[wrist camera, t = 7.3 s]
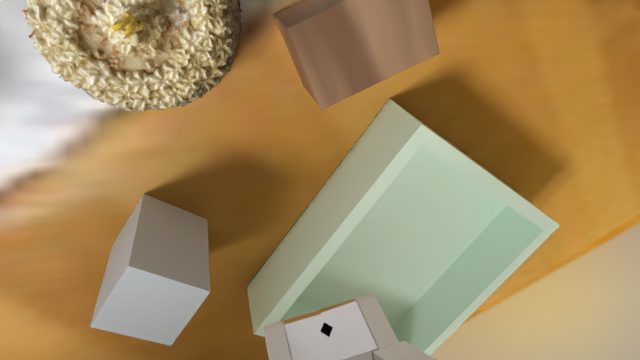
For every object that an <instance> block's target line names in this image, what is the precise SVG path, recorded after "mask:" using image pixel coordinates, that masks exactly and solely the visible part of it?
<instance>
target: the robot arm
mask: <svg viewBox="0 0 640 360" xmlns="http://www.w3.org/2000/svg"><path fill="white" fill-rule="evenodd" d="M283 321H284V323H283ZM283 321H279V322H276V323H272V324H269V325H265V326H264V335H265V340H266V346H267V352H268V357H269V360H435V359H434V358H432V357H430V356H429V355H427V354H426V353H424V352H422V351H421V350H419V349H417V348H416V347H414V346H412V345H411V344H409V343H408V342H406V341H402V342H399V341H398V339H397V337H396V335H395V333H394V331H393V329H392V327H391V325H390V323H389V321H388V319H387V318H386V316H385V314H384V312H383V310H382V308H381V306H380V304H379V302H378V300H377V298H376V296H375V295H374V294H369V295H365V296H362V297H359V298H356V299H351V300H348V301H345V302H342V303H339V304H335V305H332V306H329V307H326V308H323V309H320V310H319V311H315V312H311V313H308V314H304V315H300V316H297V317H293V318H290V319H286V320H283Z"/></svg>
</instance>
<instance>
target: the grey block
mask: <svg viewBox="0 0 640 360" xmlns="http://www.w3.org/2000/svg"><path fill="white" fill-rule="evenodd" d="M209 293H210V269H209V243H208V220H207V219H205V218H203V217H200V216H198V215H195V214H193V213H190V212H188V211H185V210H183V209H180V208H178V207H176V206H173V205H171V204H168V203H166V202H163V201H161V200H158V199H156V198H153V197H151V196H149V195H146V194H143V196H142V197H141V199H140V201H139V202H138V204H137V206H136V207H135V209H134V210H133V212H132V214H131V215H130V217H129V219H128V220H127V222H126V224H125V225H124V227H123V229H122V230H121V232H120V234H119V235H118V237H117V239H116V240H115V242H114V243H113V246H112V249H111V253H110V256H109V260H108V263H107V267H106V271H105V274H104V278H103V281H102V285H101V288H100V292H99V296H98V299H97V303H96V306H95V310H94V313H93V317H92V321H91V324H90V327H92V328H97V329H101V330H105V331H109V332H114V333H118V334H122V335H127V336H131V337H135V338H139V339H144V340H148V341H152V342H156V343H161V344H165V345H169V346H171V345H172V344H173V342H174V341H175V340H176V338H177V337H178V336H179V334H180V333H181V331H182V330H183V329H184V327H185V326H186V325H187V323H188V322H189V320H190V319H191V318H192V316H193V315H194V314H195V312H196V311H197V310H198V308H199V307H200V305H201V304H202V303H203V301H204V300H205V299H206V297H207V296H208V294H209Z"/></svg>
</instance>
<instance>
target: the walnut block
mask: <svg viewBox="0 0 640 360" xmlns="http://www.w3.org/2000/svg"><path fill="white" fill-rule="evenodd" d="M273 16H274V18H275V20H276V23H277V25H278V27H279V30H280V32H281V34H282V37H283V39H284V41H285V44H286V46H287V48H288V50H289V53H290V55H291V57H292V60H293V62H294V64H295V67H296V69H297V71H298V74H299V76H300V78H301V81H302V83H303V85H304V87H305V88H306V90H307V91H308V92H309V94H310V95H311V96H312V98H313V99H314V100H315V102H316V103H317V104H318V106H319V107H320V108H321V110H322V109H325V108H327V107H329V106H331V105H333V104H335V103H337V102H339V101H341V100H343V99H345V98H347V97H349V96H351V95H354V94H356V93H358V92H360V91H362V90H364V89H366V88H368V87H370V86H372V85H374V84H376V83H378V82H380V81H382V80H385V79H387V78H389V77H391V76H393V75H395V74H397V73H399V72H401V71H403V70H405V69H407V68H409V67H411V66H413V65H416V64H418V63H420V62H422V61H424V60H426V59H428V58H430V57H432V56H434V55H436V54H438V53H440V52H439V47H438V43H437V38H436V33H435V29H434V24H433V19H432V15H431V10H430V5H429V0H303V1H301V2H299V3H297V4H295V5H293V6H290V7H288V8H286V9H284V10H282V11H280V12H278V13H276V14H274V15H273Z"/></svg>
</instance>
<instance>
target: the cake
mask: <svg viewBox="0 0 640 360" xmlns="http://www.w3.org/2000/svg"><path fill="white" fill-rule="evenodd" d="M26 1H27V4H28V5H27V6H26V10H23V12H24V13H25V14H26V15H27V17H26V21H27V24H28V25H29V26H30V27H32V29H33V31H32V34H31V35H30V36H29V38H32V39H34V40H35V42H34V43H33V45H34V46H35V48H36V49H37V51H38V52H39V53H40V55H42V56H43V57H44V59H46V61H47V62H48V63H49V64H50V65H51V67H52V70H51V71H52V72H53V73H55V74H59V73H60V74H61V76H60V77H61V78H62V79H63V80H64V81H65V82H66V81H70V82H71V83H72V84H73V85H74V86H76V87H77V88H82V89H83V90H84V91H85V92H86V93H87V94H89V96H91V97H93V99H97V100H99V101H101V102H106V103H108V104H110V105H112V106H113V105H115V106H116V107H117V108H122V109H124V110H126V111H131V109H132V108H135V110H136V111H137V112H140V111H141V110H142V111H146V110H147V109H151V108H152V109H159V110H163V109H165V108H170V107H178V106H180V105H181V106H182V107H183V106H185V105H187V104H188V103H191V102H192V101H194V100H196V99H197V98H202V95H204V94H205V93H206V92H207V90H211V88H212V87H214V86H215V87H216V85H218V84H220V81H221V80H220V79H221V77H223V76H224V74H227V71H230V67H231V66H230V64H231V63H232V61H233V56H234V52H235V51H236V50H237V48H238V40H239V39H238V35H239V33H240V30H241V23H240V16H241V15H240V12H241V9H240V1H239V0H26ZM138 22H140V23H138ZM60 77H59V78H60Z"/></svg>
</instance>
